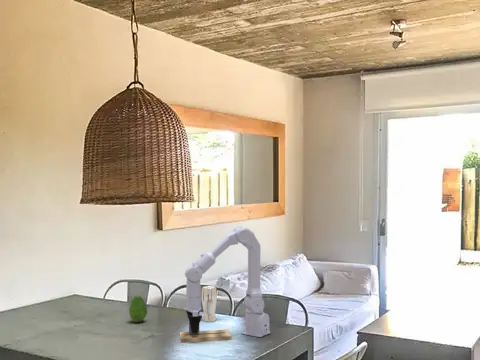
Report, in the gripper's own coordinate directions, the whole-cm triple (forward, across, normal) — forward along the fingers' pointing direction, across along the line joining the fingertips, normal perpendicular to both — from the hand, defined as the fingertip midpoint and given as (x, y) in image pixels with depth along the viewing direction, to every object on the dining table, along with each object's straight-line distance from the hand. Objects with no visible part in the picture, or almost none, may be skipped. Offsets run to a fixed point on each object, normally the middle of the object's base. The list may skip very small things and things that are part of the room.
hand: (194, 330), depth 218 cm
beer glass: (+3, -29, +9) cm, 31 cm away
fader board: (+3, 0, +4) cm, 5 cm away
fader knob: (+1, 0, 0) cm, 1 cm away
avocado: (+3, -32, -22) cm, 40 cm away
